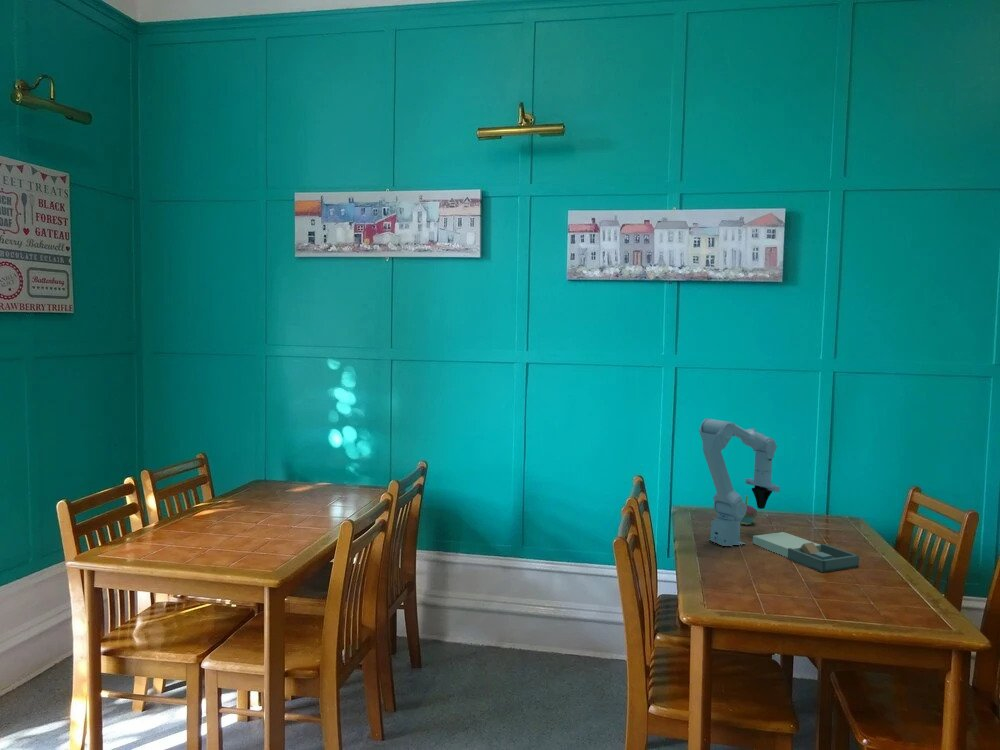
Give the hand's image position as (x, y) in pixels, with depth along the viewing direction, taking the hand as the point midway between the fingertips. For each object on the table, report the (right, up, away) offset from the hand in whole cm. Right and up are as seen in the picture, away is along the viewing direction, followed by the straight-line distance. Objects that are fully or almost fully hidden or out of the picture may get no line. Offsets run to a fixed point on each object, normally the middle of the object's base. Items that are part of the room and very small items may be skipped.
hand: (761, 508), depth 251 cm
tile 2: (+10, -10, -26) cm, 30 cm away
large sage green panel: (+4, -11, -13) cm, 18 cm away
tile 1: (+7, -10, -21) cm, 25 cm away
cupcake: (+1, -10, +19) cm, 21 cm away
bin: (+10, -12, -27) cm, 31 cm away
